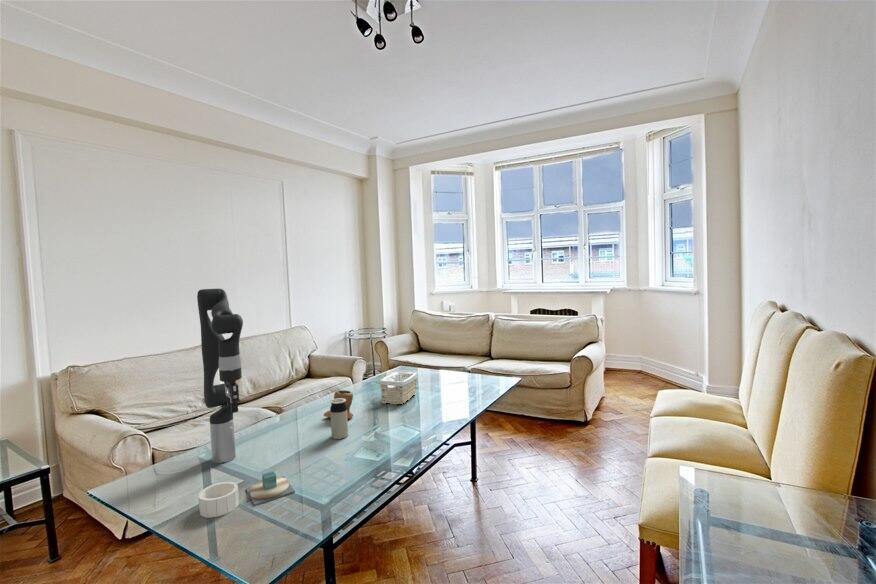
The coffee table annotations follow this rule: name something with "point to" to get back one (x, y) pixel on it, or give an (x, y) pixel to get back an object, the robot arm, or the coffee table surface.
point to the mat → (260, 501)
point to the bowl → (218, 499)
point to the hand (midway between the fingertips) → (232, 409)
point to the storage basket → (398, 387)
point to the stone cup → (349, 397)
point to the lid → (269, 486)
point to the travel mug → (339, 418)
